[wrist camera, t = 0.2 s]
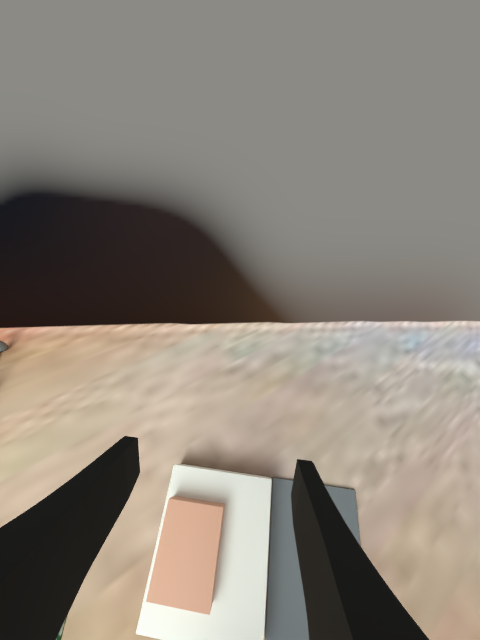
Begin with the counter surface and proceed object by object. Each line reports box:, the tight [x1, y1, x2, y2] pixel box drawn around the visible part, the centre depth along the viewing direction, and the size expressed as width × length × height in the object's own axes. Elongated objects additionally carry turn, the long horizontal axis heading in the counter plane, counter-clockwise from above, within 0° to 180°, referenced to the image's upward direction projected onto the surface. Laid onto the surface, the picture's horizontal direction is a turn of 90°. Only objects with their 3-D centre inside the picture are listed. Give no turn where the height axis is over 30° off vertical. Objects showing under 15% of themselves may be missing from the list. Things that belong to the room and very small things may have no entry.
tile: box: [146, 496, 225, 615], centre depth 28 cm, size 9×7×2 cm
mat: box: [265, 478, 360, 640], centre depth 31 cm, size 16×12×1 cm
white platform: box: [136, 464, 272, 640], centre depth 31 cm, size 16×14×4 cm
